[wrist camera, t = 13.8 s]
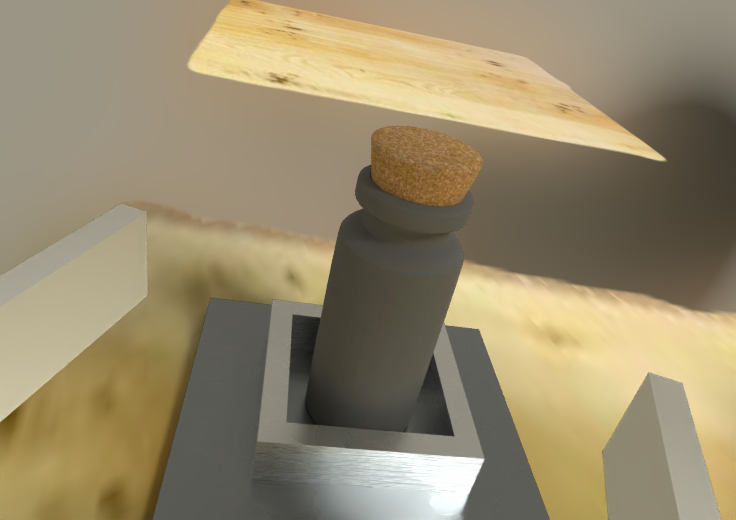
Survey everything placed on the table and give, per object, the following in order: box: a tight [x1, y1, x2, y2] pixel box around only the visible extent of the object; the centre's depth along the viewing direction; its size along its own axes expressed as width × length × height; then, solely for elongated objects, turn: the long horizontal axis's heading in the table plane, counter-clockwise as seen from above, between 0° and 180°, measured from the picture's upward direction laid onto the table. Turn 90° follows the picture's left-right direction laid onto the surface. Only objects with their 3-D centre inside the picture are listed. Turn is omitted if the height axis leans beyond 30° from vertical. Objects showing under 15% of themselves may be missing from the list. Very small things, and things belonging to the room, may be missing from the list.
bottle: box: [306, 126, 483, 432], centre depth 28 cm, size 6×6×15 cm
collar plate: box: [153, 298, 550, 520], centre depth 31 cm, size 18×16×4 cm
